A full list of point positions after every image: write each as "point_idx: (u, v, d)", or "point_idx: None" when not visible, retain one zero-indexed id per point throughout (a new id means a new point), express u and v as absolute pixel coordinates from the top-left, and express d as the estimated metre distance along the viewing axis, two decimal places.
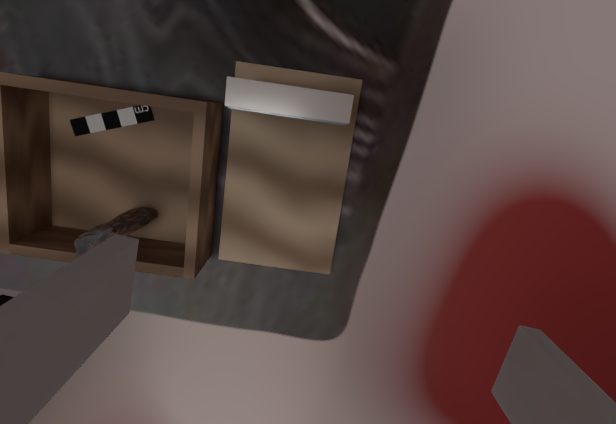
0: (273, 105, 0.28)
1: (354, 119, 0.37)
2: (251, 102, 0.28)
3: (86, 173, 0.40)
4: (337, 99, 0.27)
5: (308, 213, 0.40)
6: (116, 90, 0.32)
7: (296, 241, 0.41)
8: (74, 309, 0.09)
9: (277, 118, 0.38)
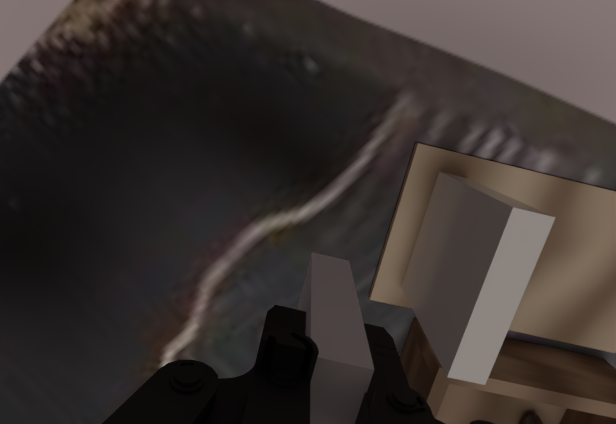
0: (500, 323, 0.19)
1: (469, 157, 0.26)
2: (488, 351, 0.19)
3: None
4: (513, 232, 0.17)
5: (585, 231, 0.28)
6: None
7: None
8: None
9: None
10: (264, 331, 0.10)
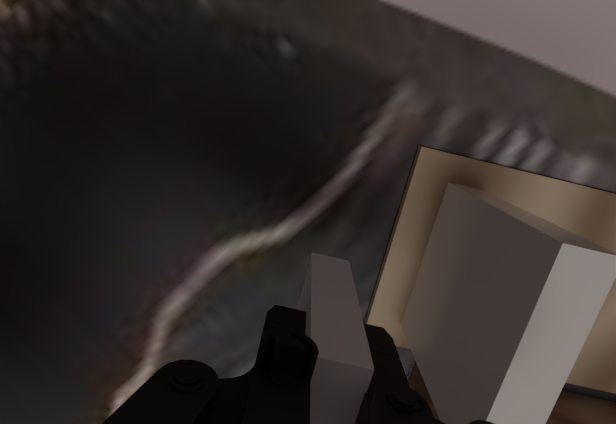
0: (539, 404, 0.13)
1: (486, 165, 0.21)
2: None
3: None
4: (562, 279, 0.12)
5: None
6: None
7: None
8: None
9: None
10: (264, 331, 0.10)
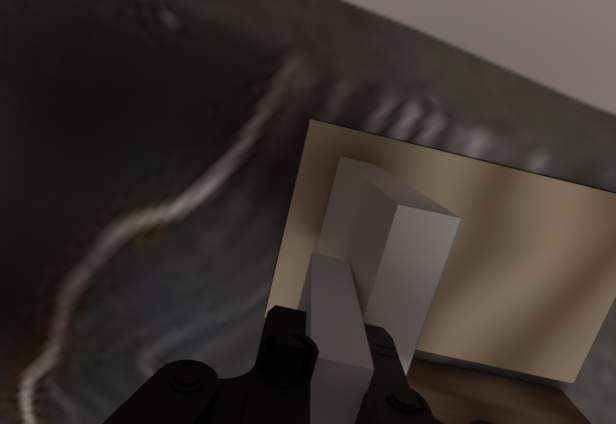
0: None
1: (376, 138, 0.21)
2: None
3: None
4: (401, 242, 0.12)
5: (530, 233, 0.22)
6: None
7: (577, 258, 0.22)
8: None
9: None
10: (264, 331, 0.10)
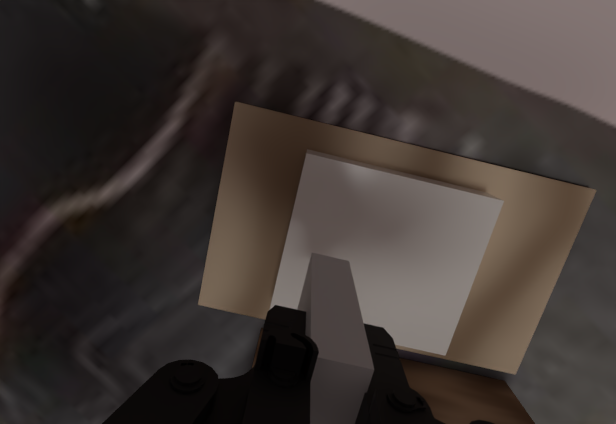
0: None
1: (303, 121, 0.20)
2: None
3: None
4: None
5: None
6: None
7: (513, 245, 0.22)
8: None
9: None
10: (264, 331, 0.10)
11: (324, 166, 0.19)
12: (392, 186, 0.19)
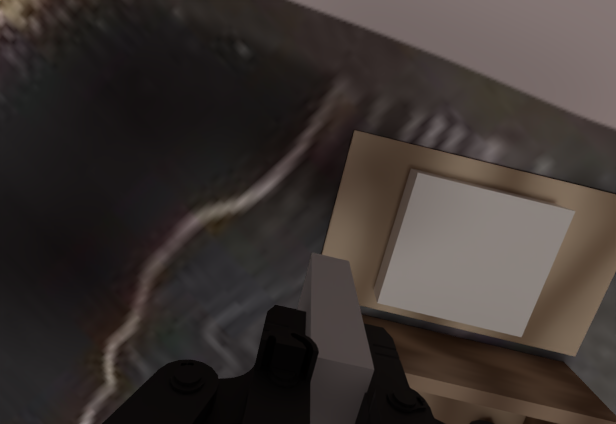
0: None
1: (409, 145, 0.25)
2: None
3: None
4: None
5: None
6: None
7: (577, 247, 0.27)
8: None
9: None
10: (264, 331, 0.10)
11: (431, 183, 0.24)
12: (485, 199, 0.24)
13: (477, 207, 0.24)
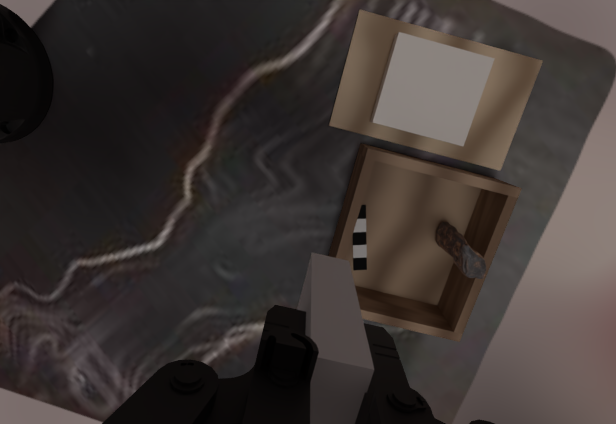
0: None
1: (393, 20, 0.40)
2: None
3: (399, 268, 0.48)
4: None
5: None
6: (348, 219, 0.40)
7: (500, 92, 0.42)
8: None
9: None
10: (264, 331, 0.10)
11: (407, 38, 0.38)
12: (440, 49, 0.39)
13: (435, 55, 0.39)
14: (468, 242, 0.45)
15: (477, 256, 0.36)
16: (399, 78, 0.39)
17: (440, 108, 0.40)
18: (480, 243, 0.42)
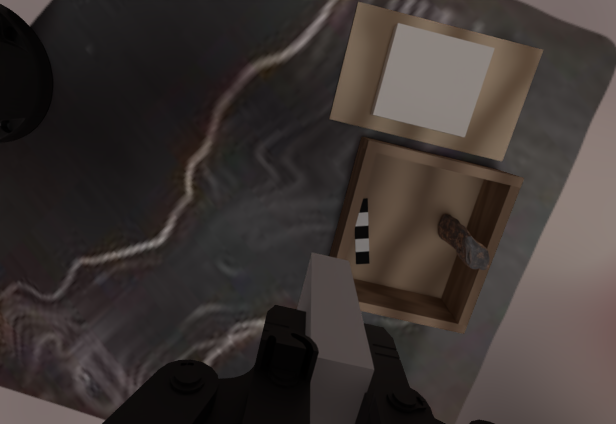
0: None
1: (392, 12, 0.40)
2: None
3: (402, 261, 0.47)
4: None
5: None
6: (350, 212, 0.40)
7: (500, 82, 0.41)
8: None
9: None
10: (264, 331, 0.10)
11: (406, 29, 0.38)
12: (439, 40, 0.38)
13: (435, 46, 0.39)
14: (471, 234, 0.45)
15: (480, 247, 0.36)
16: (399, 70, 0.39)
17: (441, 99, 0.40)
18: (483, 234, 0.42)
